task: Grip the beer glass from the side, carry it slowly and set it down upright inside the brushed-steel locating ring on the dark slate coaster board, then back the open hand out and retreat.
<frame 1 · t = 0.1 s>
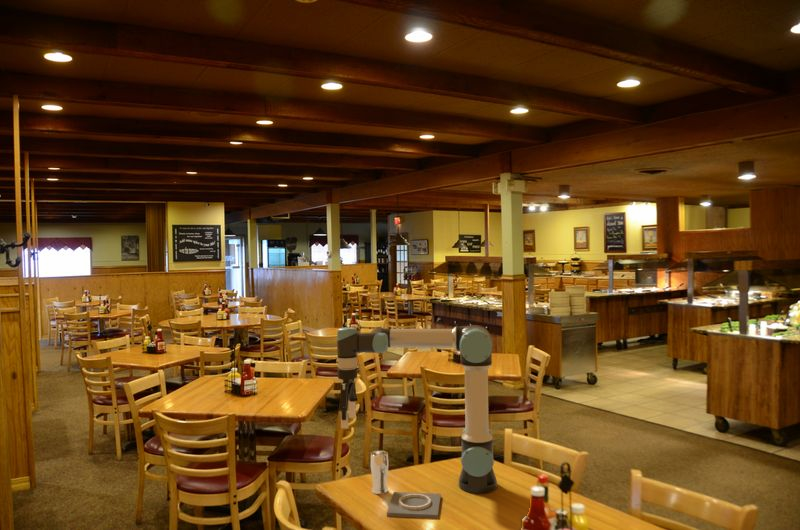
hand: (348, 423, 226), 28 cm above the table, tool pointing down, fingers open, 13 cm apart
coaster board: (414, 506, 215), on the table
beer glass: (379, 491, 229), on the table
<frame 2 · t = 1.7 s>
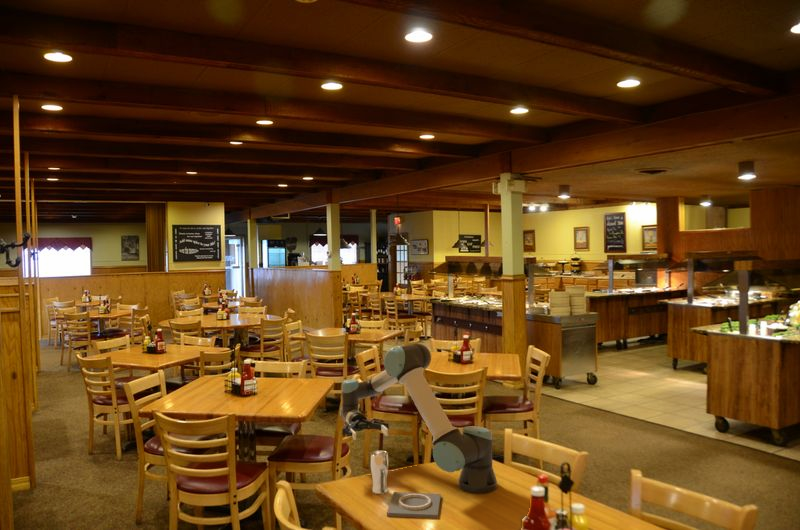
hand: (371, 434, 238), 20 cm above the table, tool horizontal, fingers open, 13 cm apart
nothing on the table moved.
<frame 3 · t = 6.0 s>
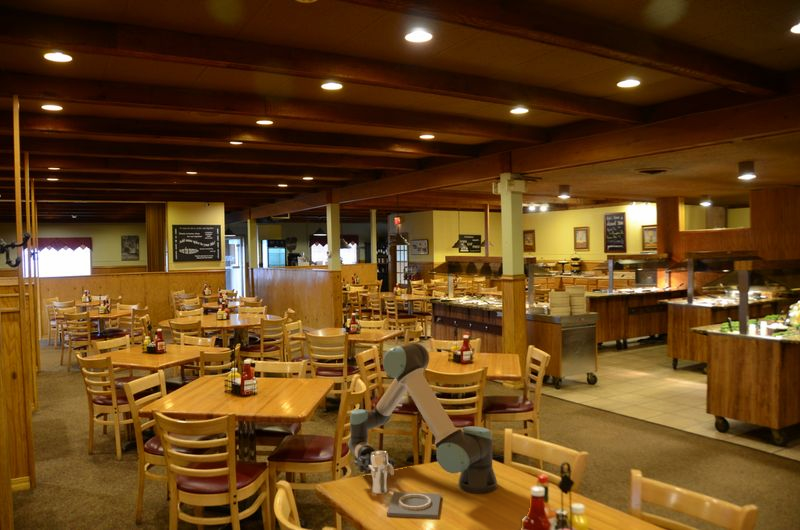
hand: (383, 472, 224), 9 cm above the table, tool horizontal, fingers closed on beer glass, 7 cm apart
beer glass: (379, 491, 229), on the table, touching gripper
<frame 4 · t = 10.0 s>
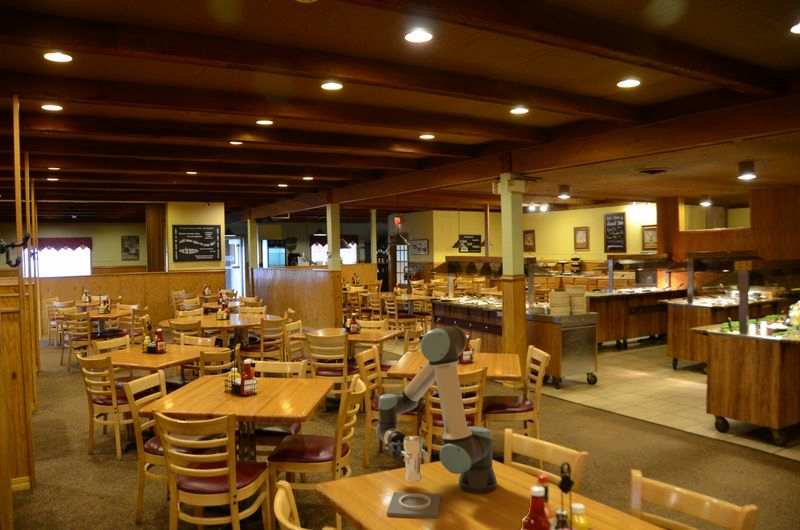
hand: (418, 459, 210), 19 cm above the table, tool horizontal, fingers closed on beer glass, 7 cm apart
beer glass: (413, 479, 215), point 10 cm above the table, touching gripper
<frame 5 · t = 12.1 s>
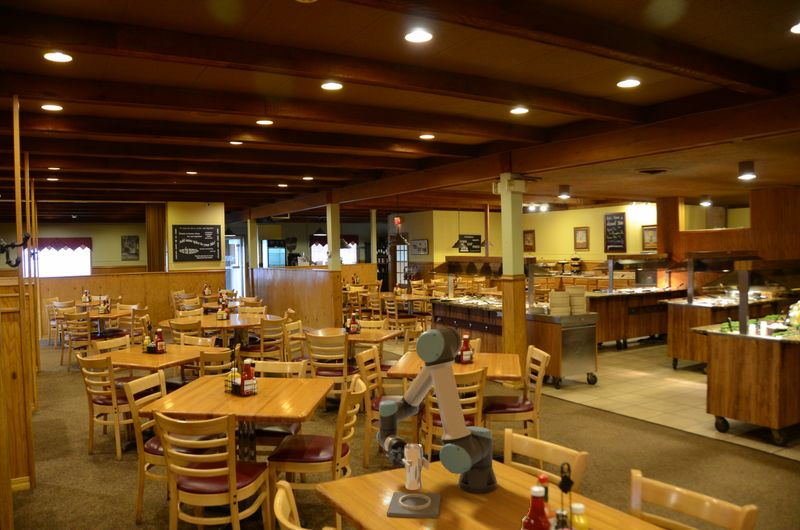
hand: (418, 467, 210), 16 cm above the table, tool horizontal, fingers closed on beer glass, 7 cm apart
beer glass: (413, 487, 215), point 7 cm above the table, touching gripper
when the fingers open (10 cm above the table, at t = 14.1 s): beer glass stays where it is, resting on coaster board.
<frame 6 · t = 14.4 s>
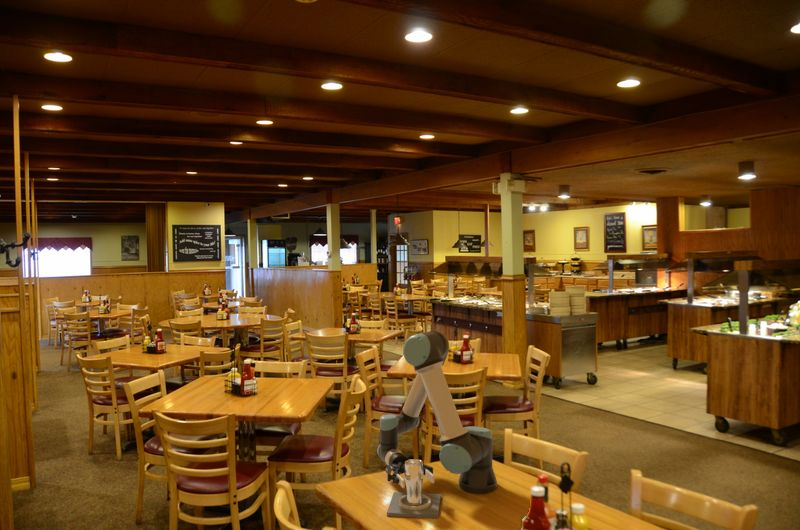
hand: (418, 481, 211), 10 cm above the table, tool horizontal, fingers open, 11 cm apart
beer glass: (414, 503, 215), point 1 cm above the table, touching coaster board
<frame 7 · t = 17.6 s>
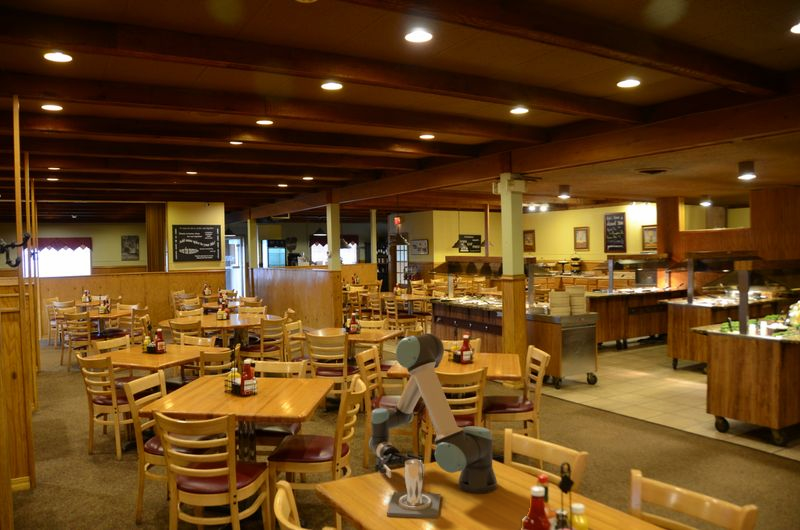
hand: (407, 471, 221), 11 cm above the table, tool horizontal, fingers open, 13 cm apart
nothing on the table moved.
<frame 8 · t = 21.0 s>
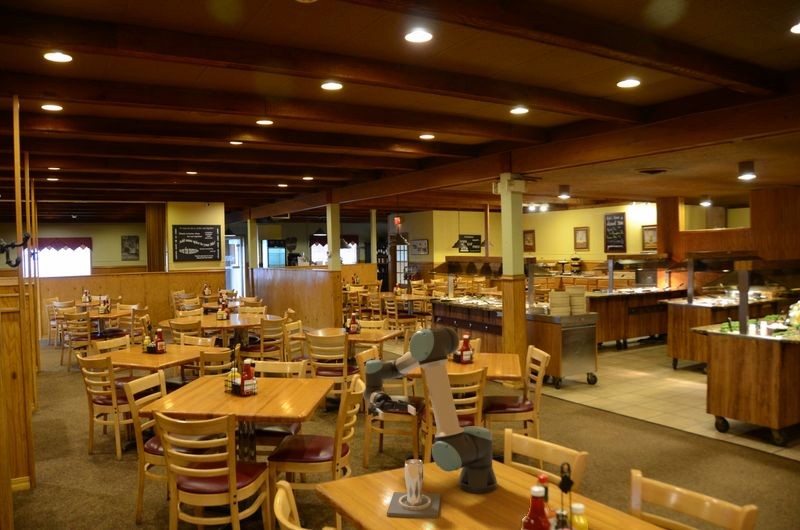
hand: (398, 414, 230), 30 cm above the table, tool horizontal, fingers open, 13 cm apart
nothing on the table moved.
at the end: beer glass 0.1 cm off-centre on the coaster board, point 1.0 cm above the coaster board's base; beer glass tilted 0°; the gripper is holding nothing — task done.
